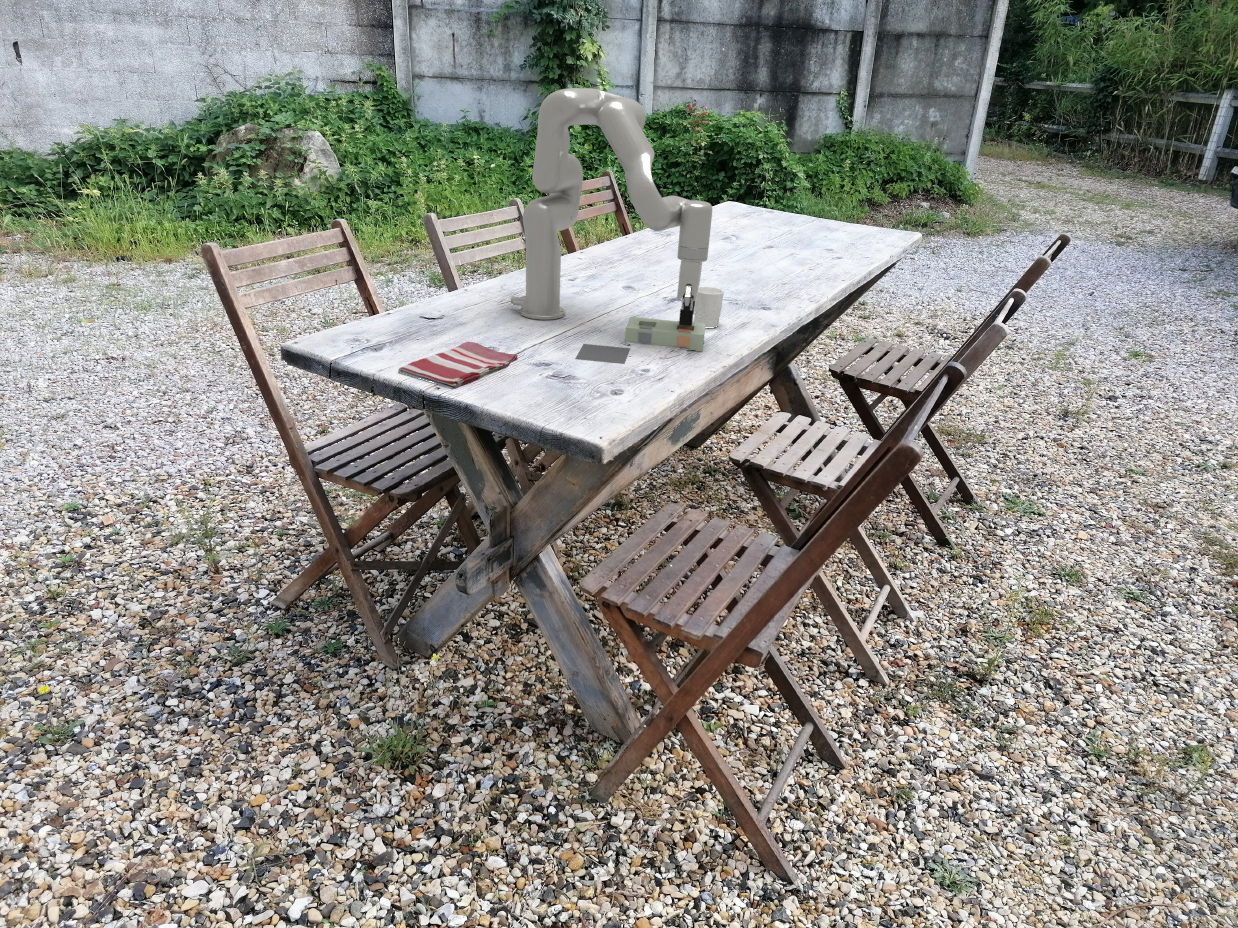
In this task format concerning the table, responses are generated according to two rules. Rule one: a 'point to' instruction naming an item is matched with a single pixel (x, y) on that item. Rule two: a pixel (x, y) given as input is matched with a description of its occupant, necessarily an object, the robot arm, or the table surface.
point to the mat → (603, 353)
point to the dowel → (687, 326)
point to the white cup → (708, 306)
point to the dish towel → (459, 365)
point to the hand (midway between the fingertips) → (686, 319)
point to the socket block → (664, 333)
